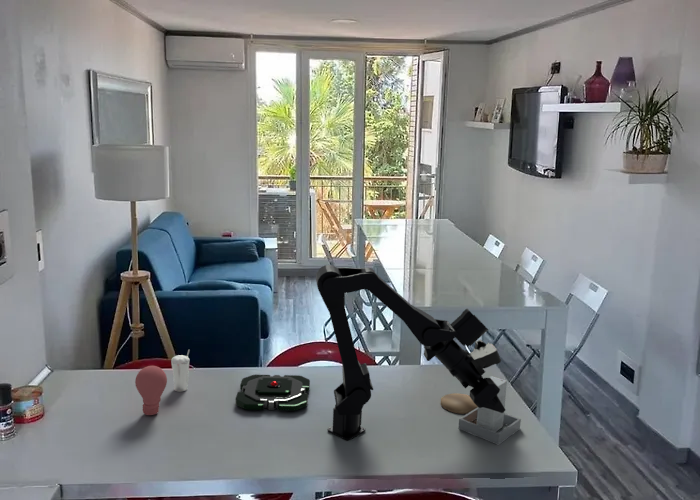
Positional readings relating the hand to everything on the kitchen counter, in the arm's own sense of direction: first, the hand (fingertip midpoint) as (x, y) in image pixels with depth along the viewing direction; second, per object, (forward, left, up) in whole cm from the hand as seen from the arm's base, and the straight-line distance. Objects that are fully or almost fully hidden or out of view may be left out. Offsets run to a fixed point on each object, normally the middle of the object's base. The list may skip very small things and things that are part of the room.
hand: (497, 402), depth 148 cm
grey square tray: (-1, +1, -7) cm, 7 cm away
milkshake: (-40, +69, -7) cm, 80 cm away
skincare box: (-1, +1, -7) cm, 7 cm away
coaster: (+5, +12, -7) cm, 15 cm away
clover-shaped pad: (-26, +49, -7) cm, 56 cm away
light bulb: (-53, +62, -7) cm, 82 cm away
